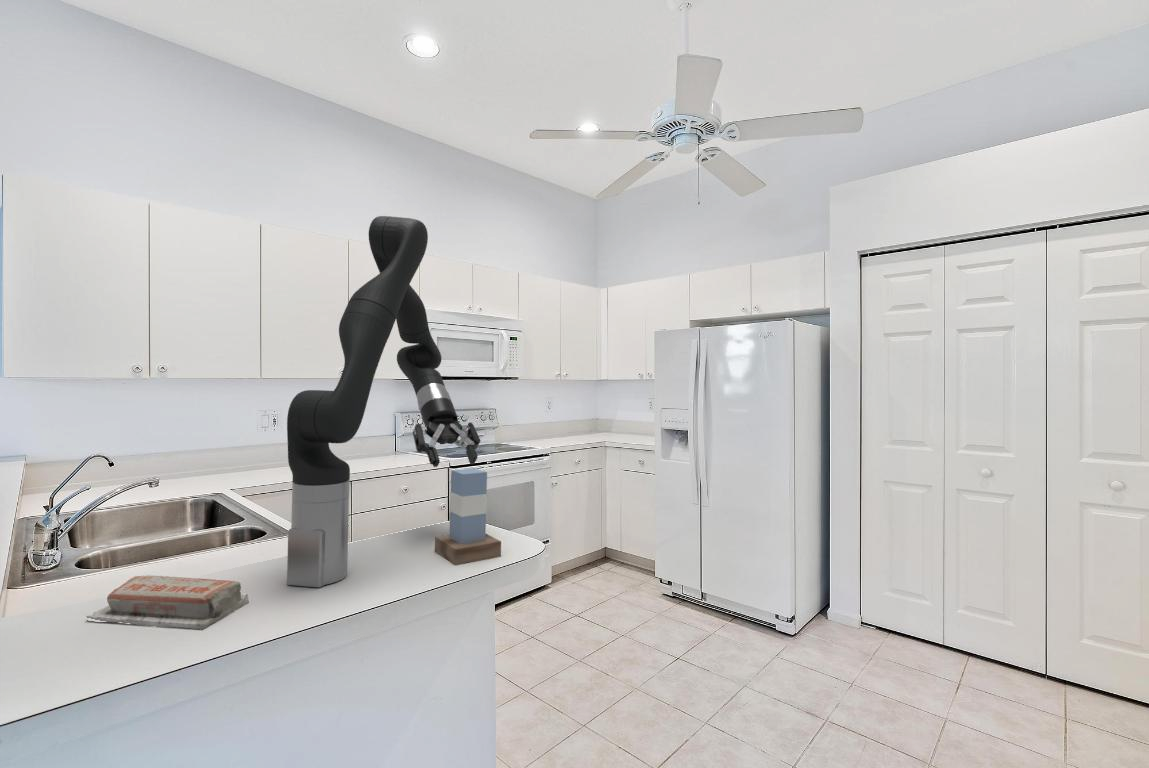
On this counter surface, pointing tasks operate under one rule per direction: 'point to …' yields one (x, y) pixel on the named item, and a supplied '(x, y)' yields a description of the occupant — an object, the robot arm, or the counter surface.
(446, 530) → the counter surface
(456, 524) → the carton
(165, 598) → the packaged product
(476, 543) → the podium
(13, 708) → the counter surface
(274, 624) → the counter surface
